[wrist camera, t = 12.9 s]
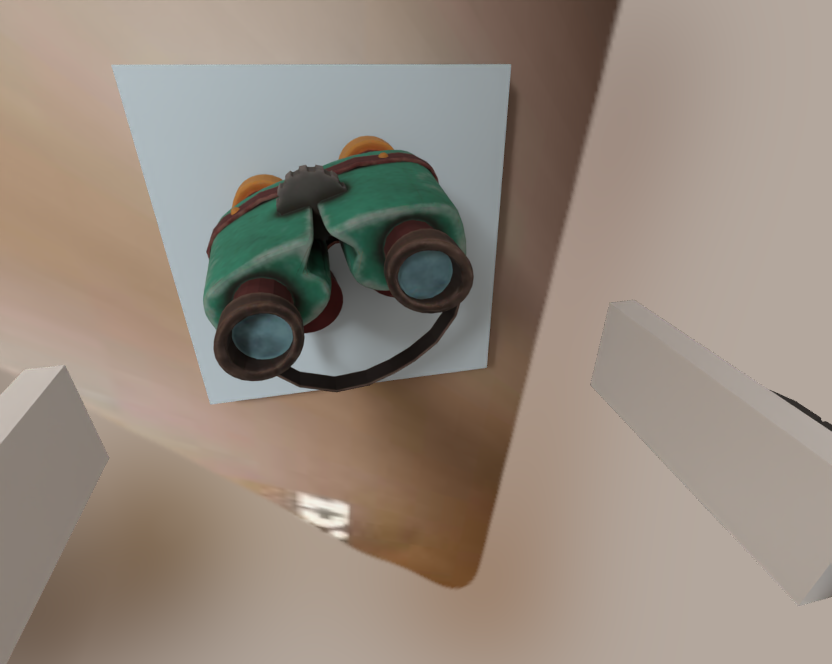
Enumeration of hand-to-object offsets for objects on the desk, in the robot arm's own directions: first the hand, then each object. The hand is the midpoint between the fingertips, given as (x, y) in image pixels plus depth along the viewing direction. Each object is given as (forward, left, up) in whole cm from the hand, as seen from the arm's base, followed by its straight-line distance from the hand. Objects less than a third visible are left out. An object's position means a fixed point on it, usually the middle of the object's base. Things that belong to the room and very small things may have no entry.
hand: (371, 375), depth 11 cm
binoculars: (0, 0, -11) cm, 11 cm away
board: (0, 0, -12) cm, 12 cm away
